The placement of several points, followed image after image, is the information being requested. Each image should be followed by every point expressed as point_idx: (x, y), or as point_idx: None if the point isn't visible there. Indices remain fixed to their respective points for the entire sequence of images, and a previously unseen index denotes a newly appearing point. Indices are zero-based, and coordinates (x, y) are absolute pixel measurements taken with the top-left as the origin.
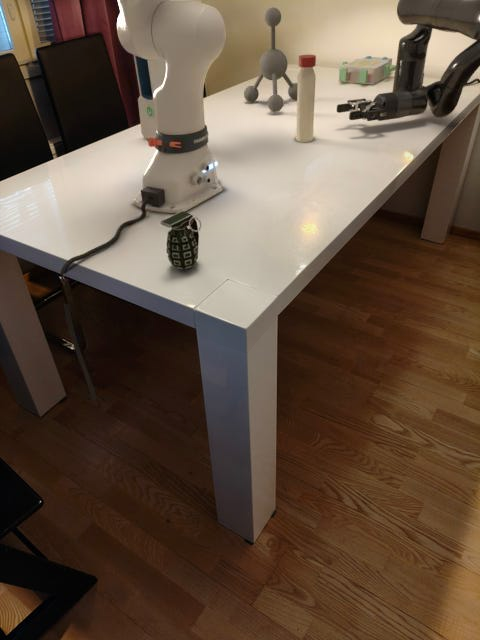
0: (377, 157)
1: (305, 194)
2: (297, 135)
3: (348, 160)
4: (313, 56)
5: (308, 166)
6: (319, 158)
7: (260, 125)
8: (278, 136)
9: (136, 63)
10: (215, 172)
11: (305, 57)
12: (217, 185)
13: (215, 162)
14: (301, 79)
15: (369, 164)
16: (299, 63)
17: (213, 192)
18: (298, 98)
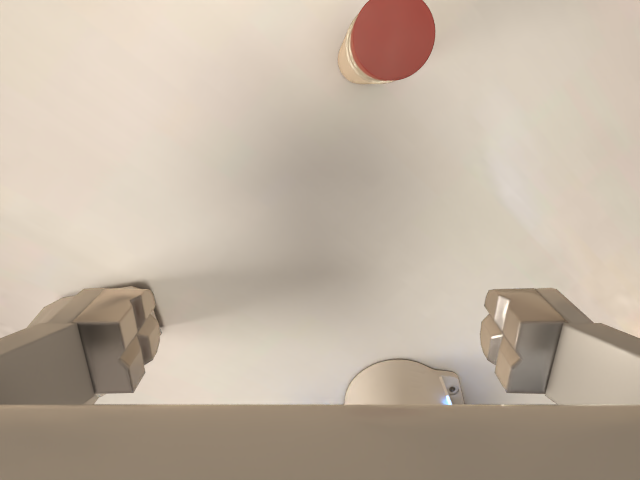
0: (605, 19)
1: (586, 287)
2: (356, 83)
3: (554, 93)
4: (424, 21)
5: (501, 189)
6: (489, 135)
7: (167, 64)
8: (288, 95)
9: None
10: (448, 394)
11: (409, 66)
12: (449, 382)
13: (450, 403)
14: (387, 82)
15: (612, 75)
16: (377, 79)
17: (462, 396)
18: (367, 83)
